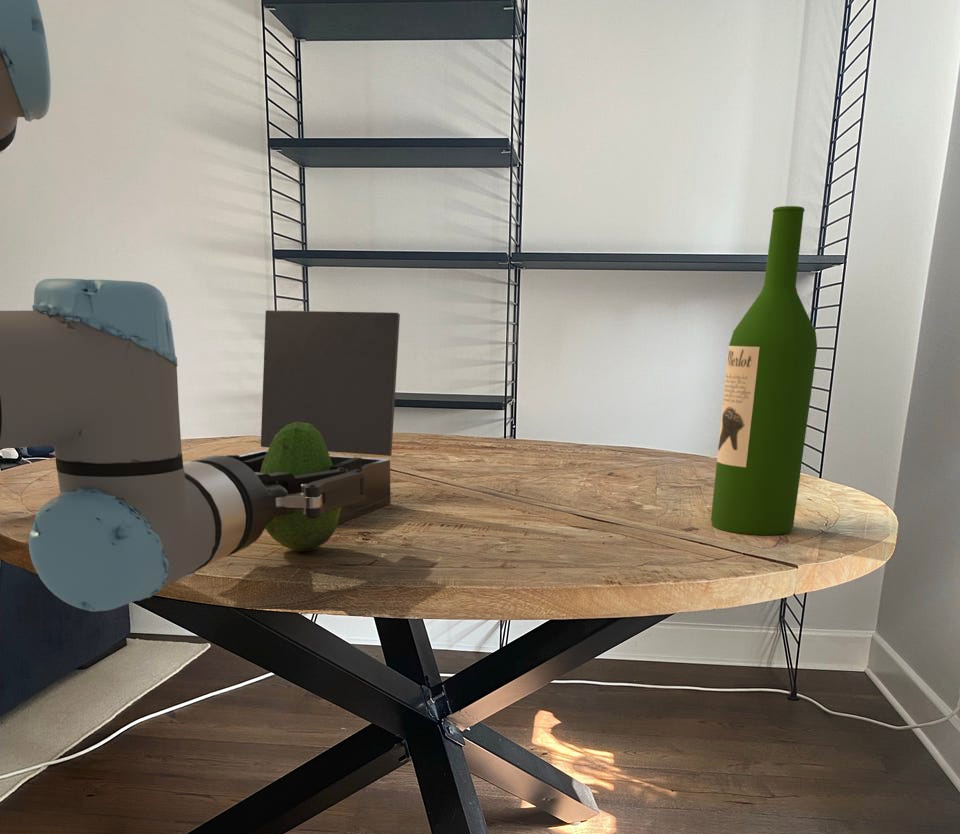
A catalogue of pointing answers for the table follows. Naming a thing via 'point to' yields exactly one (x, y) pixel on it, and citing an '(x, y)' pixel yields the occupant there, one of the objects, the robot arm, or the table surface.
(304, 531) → the avocado
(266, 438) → the tin lid
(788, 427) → the wine bottle
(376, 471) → the tin
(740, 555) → the table surface
